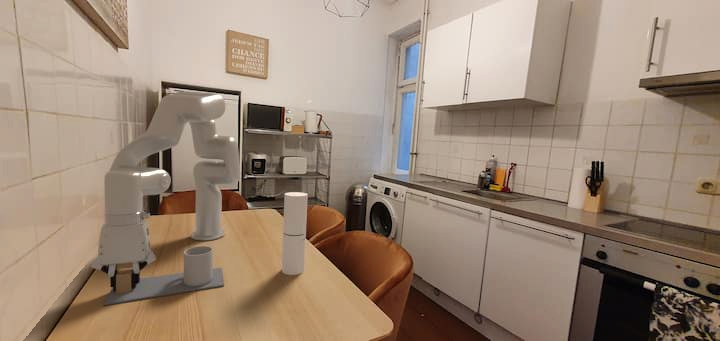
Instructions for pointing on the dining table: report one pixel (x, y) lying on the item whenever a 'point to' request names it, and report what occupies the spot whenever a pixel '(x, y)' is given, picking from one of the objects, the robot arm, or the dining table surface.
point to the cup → (198, 266)
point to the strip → (155, 286)
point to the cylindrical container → (294, 233)
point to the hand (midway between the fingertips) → (125, 287)
